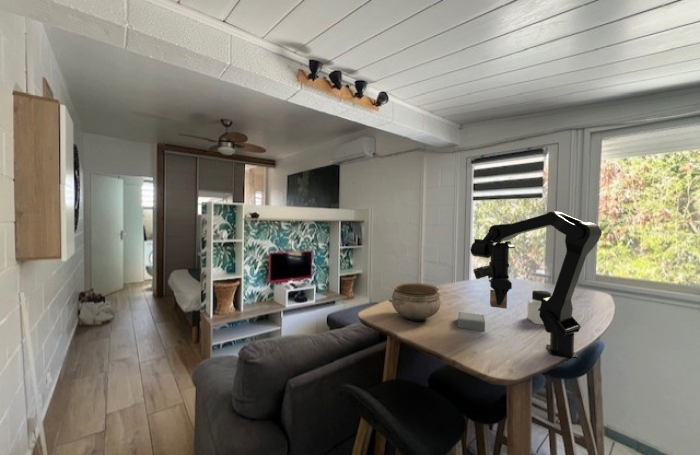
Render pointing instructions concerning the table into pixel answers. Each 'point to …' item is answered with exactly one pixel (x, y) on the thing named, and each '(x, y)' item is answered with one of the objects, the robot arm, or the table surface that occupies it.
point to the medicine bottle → (536, 306)
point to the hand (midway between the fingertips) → (498, 302)
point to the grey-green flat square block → (471, 321)
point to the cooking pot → (415, 300)
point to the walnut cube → (494, 302)
